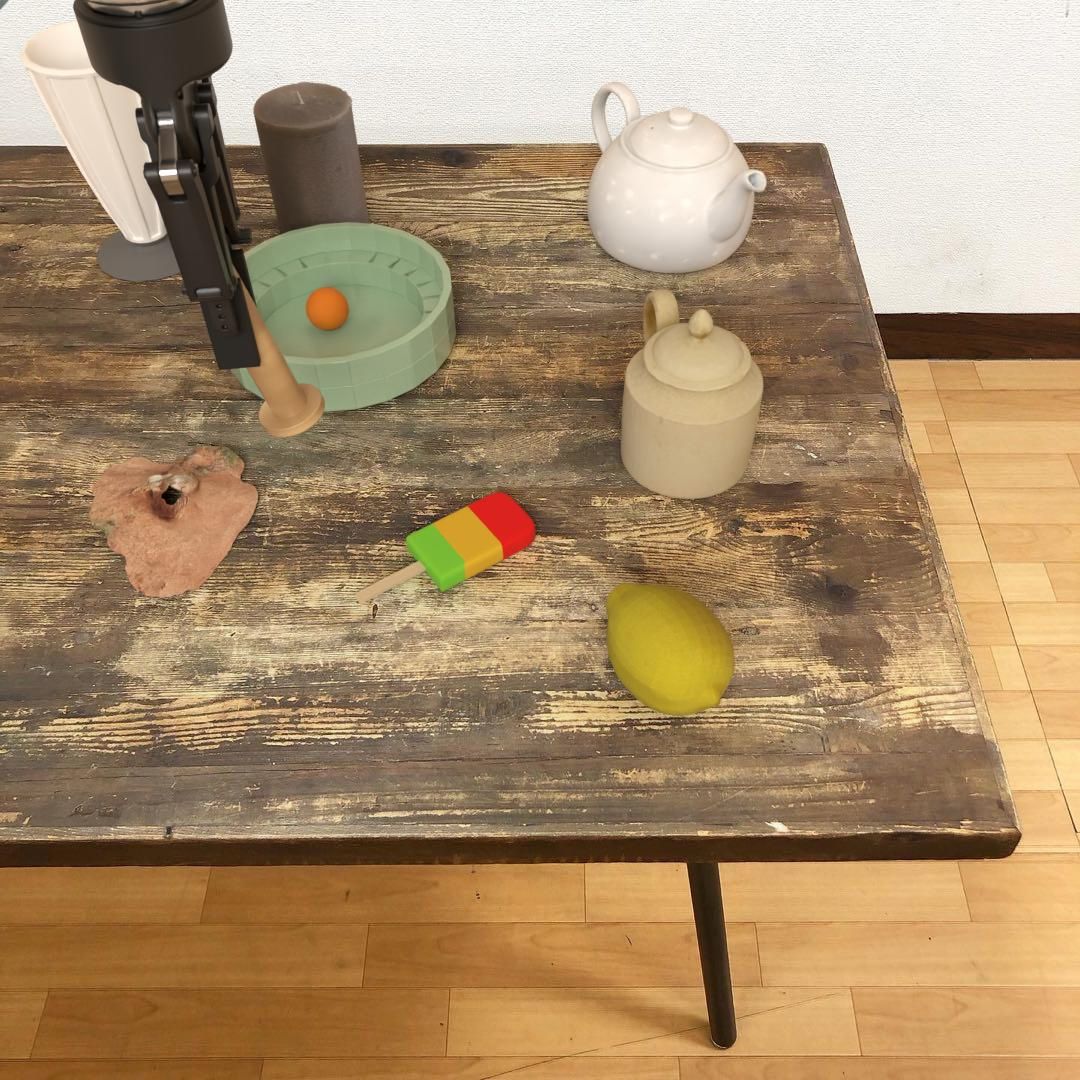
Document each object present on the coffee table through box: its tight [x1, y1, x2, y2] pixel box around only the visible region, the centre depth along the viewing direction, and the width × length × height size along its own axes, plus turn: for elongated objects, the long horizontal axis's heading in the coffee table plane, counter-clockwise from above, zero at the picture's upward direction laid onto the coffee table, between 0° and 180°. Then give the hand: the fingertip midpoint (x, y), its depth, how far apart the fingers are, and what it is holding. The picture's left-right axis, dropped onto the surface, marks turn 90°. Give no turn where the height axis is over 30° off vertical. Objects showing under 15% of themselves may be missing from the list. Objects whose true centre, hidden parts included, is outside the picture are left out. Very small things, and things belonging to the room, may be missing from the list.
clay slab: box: [88, 445, 259, 599], centre depth 85 cm, size 15×13×3 cm
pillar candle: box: [253, 81, 370, 235], centre depth 110 cm, size 10×10×15 cm
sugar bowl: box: [620, 288, 764, 500], centre depth 86 cm, size 15×11×15 cm
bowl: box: [229, 222, 457, 413], centre depth 100 cm, size 22×22×6 cm
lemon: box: [605, 582, 736, 717], centre depth 73 cm, size 11×8×8 cm
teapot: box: [586, 81, 768, 274], centre depth 108 cm, size 19×18×14 cm
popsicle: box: [354, 491, 537, 604], centre depth 83 cm, size 6×15×2 cm, turn 125°
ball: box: [306, 287, 349, 330], centre depth 101 cm, size 4×4×4 cm
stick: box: [232, 263, 325, 438], centre depth 72 cm, size 5×5×16 cm
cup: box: [19, 19, 181, 283], centre depth 105 cm, size 12×12×22 cm
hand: (241, 349), depth 73 cm, fingers closed on stick, 2 cm apart
